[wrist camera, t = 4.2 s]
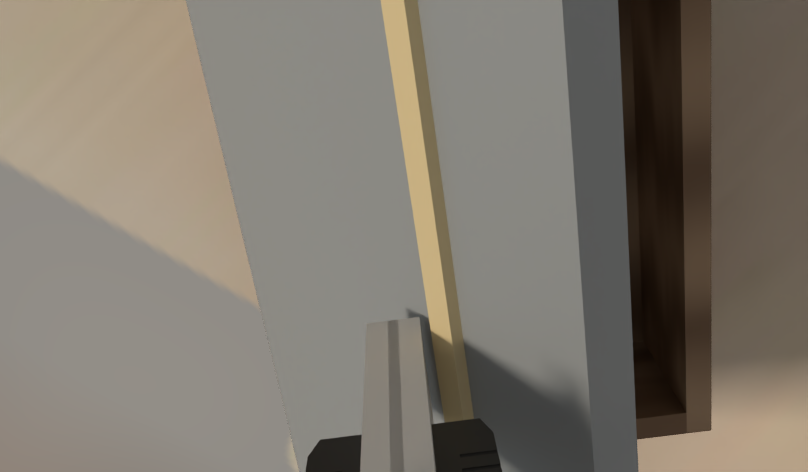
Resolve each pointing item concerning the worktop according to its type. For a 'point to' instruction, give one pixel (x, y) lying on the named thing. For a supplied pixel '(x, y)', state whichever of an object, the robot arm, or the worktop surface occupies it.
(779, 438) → the worktop surface
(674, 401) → the walnut box
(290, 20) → the lid
